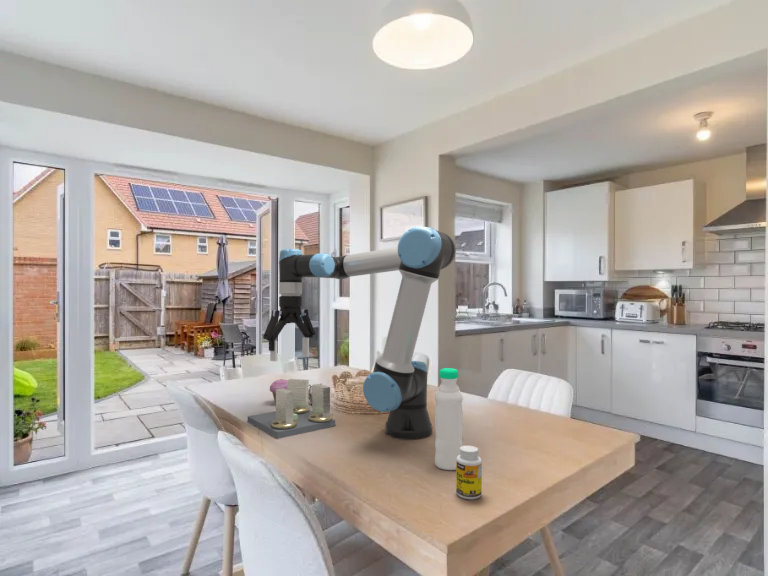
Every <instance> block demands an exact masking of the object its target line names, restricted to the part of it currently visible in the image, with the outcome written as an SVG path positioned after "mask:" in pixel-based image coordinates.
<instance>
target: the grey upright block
mask: <svg viewBox="0 0 768 576" xmlns="http://www.w3.org/2000/svg"><path fill="white" fill-rule="evenodd" d="M321 384H322V383H317V384H316V383H315V384H312V385H311V386H312V403H311V404H312V406H311V407H312V409H311V411H312V414H311V415H309V420H310V421H313V422H326V421H330V420H332V419H334V415H333V413H331V387H330V386H328V385H326V384H325V385H324V384H322V385H321Z"/></svg>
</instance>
